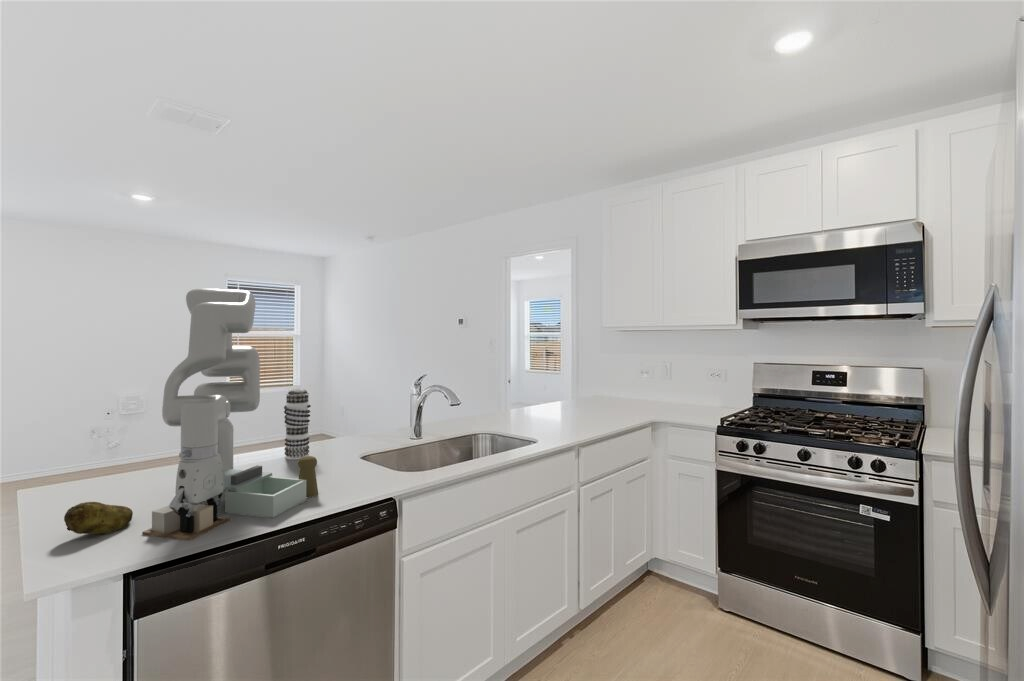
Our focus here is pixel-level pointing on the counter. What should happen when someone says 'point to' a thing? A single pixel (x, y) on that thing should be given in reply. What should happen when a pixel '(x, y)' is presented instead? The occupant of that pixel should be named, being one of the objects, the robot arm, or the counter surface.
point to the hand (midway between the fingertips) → (199, 525)
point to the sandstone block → (202, 517)
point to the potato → (97, 518)
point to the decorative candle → (297, 424)
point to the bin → (266, 497)
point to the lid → (243, 477)
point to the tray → (186, 536)
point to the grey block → (165, 520)
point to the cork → (308, 474)
